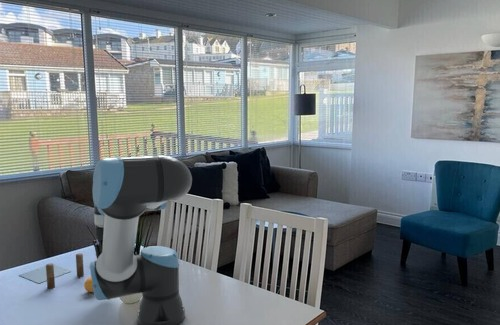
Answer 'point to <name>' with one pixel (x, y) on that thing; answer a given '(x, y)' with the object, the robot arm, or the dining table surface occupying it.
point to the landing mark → (43, 274)
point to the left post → (50, 276)
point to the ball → (89, 285)
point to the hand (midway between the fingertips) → (108, 287)
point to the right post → (79, 265)
